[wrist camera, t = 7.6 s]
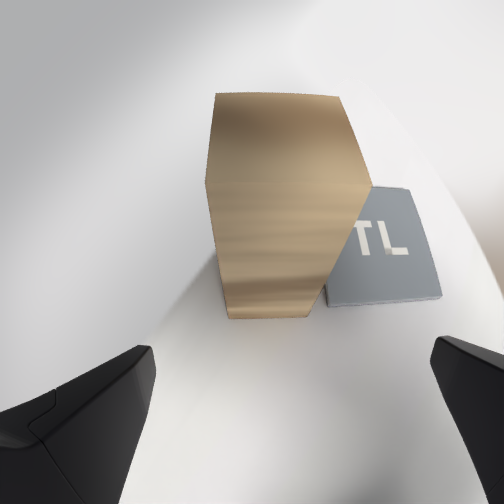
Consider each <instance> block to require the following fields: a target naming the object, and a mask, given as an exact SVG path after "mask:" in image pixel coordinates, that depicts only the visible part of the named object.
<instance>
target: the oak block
mask: <svg viewBox="0 0 504 504" xmlns="http://www.w3.org/2000/svg"><path fill="white" fill-rule="evenodd" d="M205 185H206V193H207V198H208V204H209V211H210V217H211V223H212V229H213V235H214V241H215V247H216V252H217V258H218V264H219V269H220V275H221V280H222V286H223V291H224V297H225V302H226V307H227V312H228V317H229V319H259V318H295V317H307V316H308V314H309V312H310V310H311V309H312V307H313V305H314V303H315V301H316V299H317V298H318V296H319V294H320V292H321V290H322V288H323V286H324V284H325V283H326V281H327V279H328V277H329V275H330V273H331V271H332V269H333V267H334V265H335V263H336V261H337V259H338V257H339V255H340V253H341V251H342V249H343V247H344V245H345V243H346V241H347V239H348V237H349V235H350V233H351V231H352V229H353V227H354V225H355V222H356V220H357V218H358V216H359V214H360V212H361V210H362V208H363V205H364V203H365V201H366V199H367V197H368V194H369V192H370V190H371V188H372V182H371V179H370V176H369V173H368V170H367V167H366V164H365V161H364V159H363V156H362V153H361V150H360V148H359V145H358V142H357V140H356V137H355V135H354V132H353V130H352V127H351V125H350V122H349V120H348V117H347V115H346V112H345V110H344V108H343V105H342V103H341V101H340V98H339V97H336V96H325V95H312V94H294V93H260V92H256V93H255V92H254V93H253V92H251V93H250V92H248V93H247V92H246V93H245V92H244V93H216V95H215V103H214V110H213V118H212V125H211V134H210V142H209V151H208V159H207V168H206V178H205Z"/></svg>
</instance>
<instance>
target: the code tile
mask: <svg viewBox="0 0 504 504" xmlns="http://www.w3.org/2000/svg"><path fill="white" fill-rule="evenodd" d="M325 288H326V296H327V305H328V307H334V306H353V305H369V304H384V303H397V302H409V301H421V300H432V299H439V298H440V297H442V291H441V287H440V283H439V280H438V276H437V272H436V268H435V265H434V261H433V258H432V255H431V251H430V248H429V245H428V242H427V238H426V235H425V232H424V229H423V226H422V223H421V220H420V217H419V215H418V212H417V209H416V206H415V204H414V201H413V198H412V196H411V193H410V190H407V189H394V188H378V187H372V188H371V190H370V192H369V194H368V197H367V199H366V201H365V203H364V205H363V208H362V210H361V212H360V214H359V216H358V218H357V220H356V222H355V225H354V227H353V229H352V231H351V233H350V235H349V237H348V239H347V241H346V243H345V245H344V247H343V249H342V251H341V253H340V255H339V257H338V259H337V261H336V263H335V265H334V267H333V269H332V271H331V273H330V275H329V277H328V279H327V281H326V283H325Z"/></svg>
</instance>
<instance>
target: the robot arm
mask: <svg viewBox="0 0 504 504" xmlns="http://www.w3.org/2000/svg"><path fill="white" fill-rule="evenodd" d="M430 364H431V367H432V370H433V372H434V375H435V377H436V380H437V382H438V385H439V388H440V390H441V393H442V395H443V398H444V400H445V402H446V405H447V407H448V409H449V411H450V413H451V415H452V417H453V419H454V421H455V423H456V425H457V427H458V430H459V432H460V434H461V436H462V438H463V441H464V443H465V445H466V447H467V450H468V452H469V454H470V457H471V459H472V461H473V464H474V466H475V469H476V471H477V473H478V476H479V479H480V481H481V484H482V486H483V489H484V492H485V494H486V495H487V496H486V498H487V500H488V503H489V504H504V355H502V354H499V353H496V352H494V351H491V350H488V349H485V348H482V347H479V346H476V345H474V344H471V343H468V342H465V341H462V340H459V339H457V338H454V337H451V336H440V337H438V338H437V339H436V341H435V344H434V347H433V351H432V354H431V358H430ZM155 377H156V366H155V361H154V355H153V350H152V348H151V347H150V346H145V345H137V346H136V347H134V348H132V349H130V350H128V351H126V352H124V353H122V354H121V355H119V356H117V357H115V358H113V359H111V360H109V361H107V362H105V363H103V364H101V365H100V366H98V367H96V368H94V369H92V370H90V371H88V372H86V373H84V374H82V375H80V376H78V377H76V378H75V379H73V380H71V381H69V382H67V383H65V384H63V385H61V386H59V387H57V388H56V389H53V390H51V391H49V392H48V393H45V394H43V395H41V396H39V397H37V398H35V399H33V400H30V401H28V402H25V403H23V404H20V405H18V406H15V407H13V408H10V409H7V410H5V411H2V412H0V504H118V503H119V500H120V497H121V494H122V490H123V487H124V484H125V481H126V478H127V475H128V472H129V469H130V465H131V462H132V459H133V456H134V453H135V450H136V447H137V444H138V441H139V438H140V436H141V433H142V430H143V427H144V424H145V421H146V418H147V414H148V410H149V405H150V400H151V396H152V391H153V386H154V382H155Z"/></svg>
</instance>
